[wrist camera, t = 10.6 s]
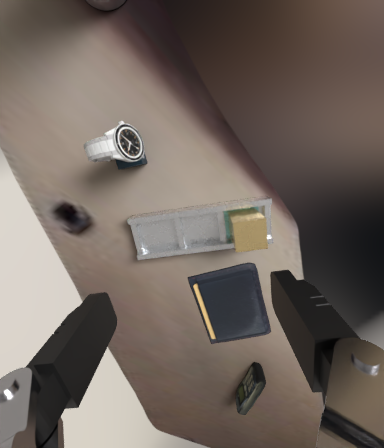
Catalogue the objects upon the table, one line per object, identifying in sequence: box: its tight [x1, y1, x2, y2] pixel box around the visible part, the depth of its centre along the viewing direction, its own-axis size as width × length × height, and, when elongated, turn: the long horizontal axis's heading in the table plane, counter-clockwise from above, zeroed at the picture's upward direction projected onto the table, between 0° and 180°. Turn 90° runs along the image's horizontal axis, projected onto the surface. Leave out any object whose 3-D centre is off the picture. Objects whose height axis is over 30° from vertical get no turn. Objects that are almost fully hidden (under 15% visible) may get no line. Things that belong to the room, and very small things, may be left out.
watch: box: [84, 121, 147, 169], centre depth 30 cm, size 6×8×11 cm
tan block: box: [228, 208, 268, 252], centre depth 34 cm, size 5×5×7 cm
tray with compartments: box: [127, 196, 273, 260], centre depth 38 cm, size 8×26×3 cm, turn 99°
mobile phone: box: [236, 362, 266, 415], centre depth 50 cm, size 5×3×15 cm
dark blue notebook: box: [188, 263, 271, 344], centre depth 45 cm, size 20×2×15 cm
